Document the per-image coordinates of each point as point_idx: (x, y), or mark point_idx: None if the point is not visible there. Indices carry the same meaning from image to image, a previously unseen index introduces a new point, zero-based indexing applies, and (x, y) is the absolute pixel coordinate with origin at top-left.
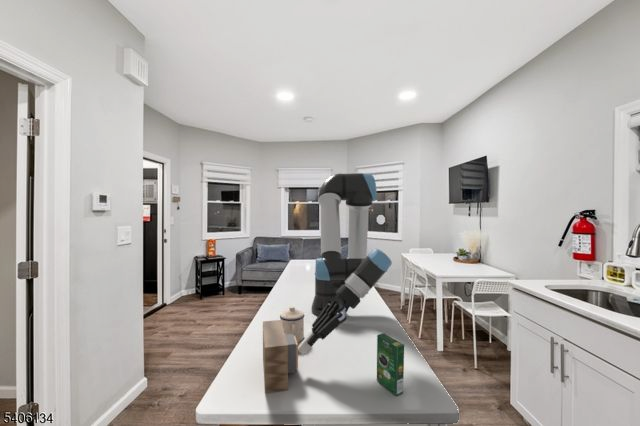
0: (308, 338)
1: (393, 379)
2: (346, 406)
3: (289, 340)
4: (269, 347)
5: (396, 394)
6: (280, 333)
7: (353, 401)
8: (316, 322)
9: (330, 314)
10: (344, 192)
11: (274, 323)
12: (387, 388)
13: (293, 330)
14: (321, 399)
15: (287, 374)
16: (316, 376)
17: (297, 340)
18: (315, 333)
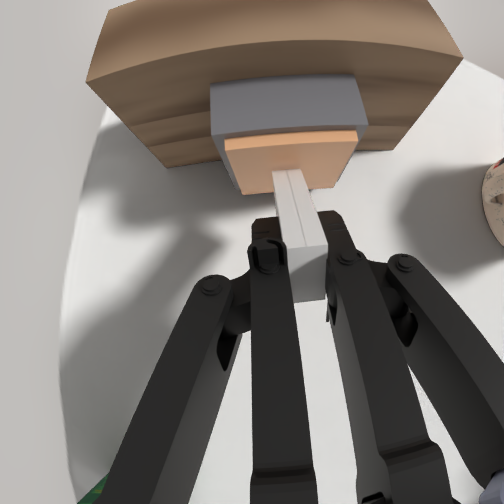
0: (279, 220)
1: (96, 490)
2: (74, 337)
3: (267, 99)
4: (105, 22)
5: (107, 474)
6: (249, 26)
7: (89, 364)
8: (405, 297)
9: (251, 498)
10: None
11: (404, 16)
12: None
13: (497, 182)
14: (104, 273)
15: (145, 145)
16: (228, 276)
17: (491, 222)
18: (253, 270)
